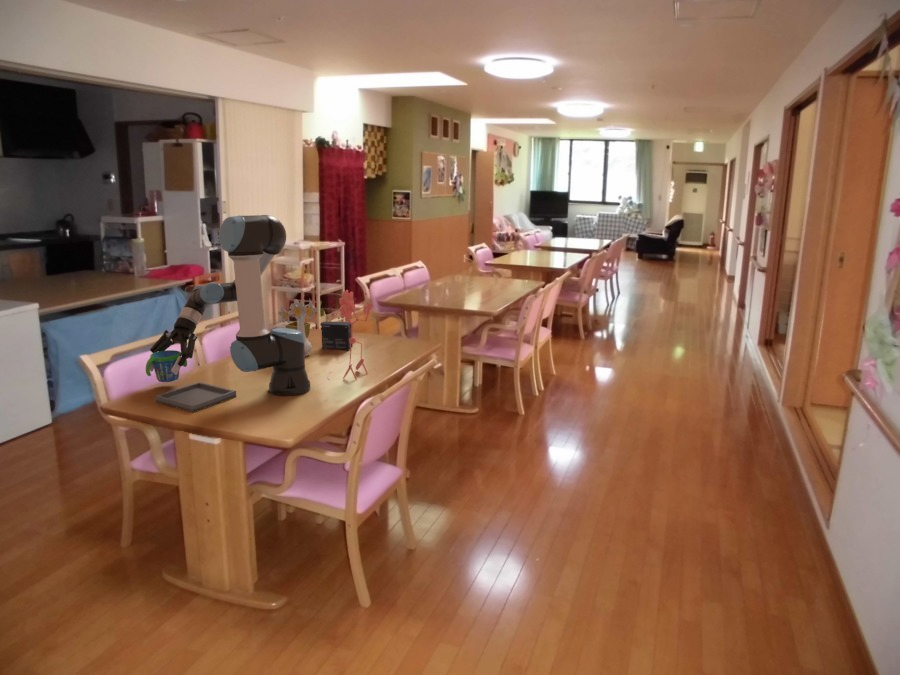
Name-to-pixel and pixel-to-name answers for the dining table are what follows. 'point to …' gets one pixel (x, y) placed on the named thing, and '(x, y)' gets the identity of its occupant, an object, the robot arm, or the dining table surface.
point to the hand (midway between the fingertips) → (161, 371)
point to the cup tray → (195, 396)
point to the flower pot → (295, 326)
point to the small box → (336, 335)
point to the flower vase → (300, 318)
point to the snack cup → (164, 365)
